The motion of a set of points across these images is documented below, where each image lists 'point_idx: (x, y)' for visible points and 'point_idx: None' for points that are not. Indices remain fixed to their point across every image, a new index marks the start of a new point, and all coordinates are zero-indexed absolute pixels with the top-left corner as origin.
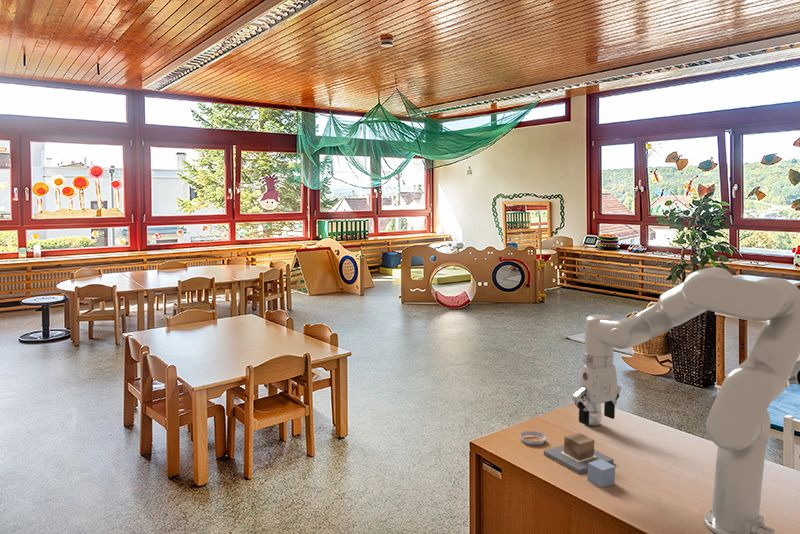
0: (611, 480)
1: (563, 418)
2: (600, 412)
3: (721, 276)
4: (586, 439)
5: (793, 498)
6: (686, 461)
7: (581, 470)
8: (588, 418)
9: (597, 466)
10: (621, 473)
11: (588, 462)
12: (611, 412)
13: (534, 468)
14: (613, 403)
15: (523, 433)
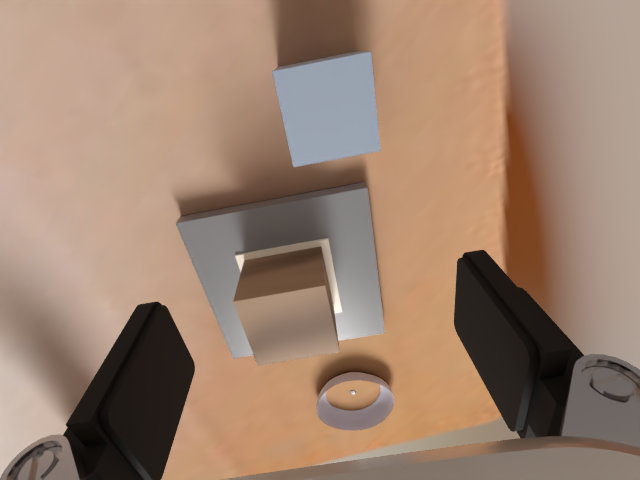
0: (297, 63)
1: (180, 472)
2: None
3: None
4: (266, 313)
5: None
6: None
7: (353, 188)
8: (503, 287)
9: (364, 100)
10: (195, 135)
11: (291, 227)
12: (147, 354)
13: None
14: (73, 452)
15: (364, 424)
